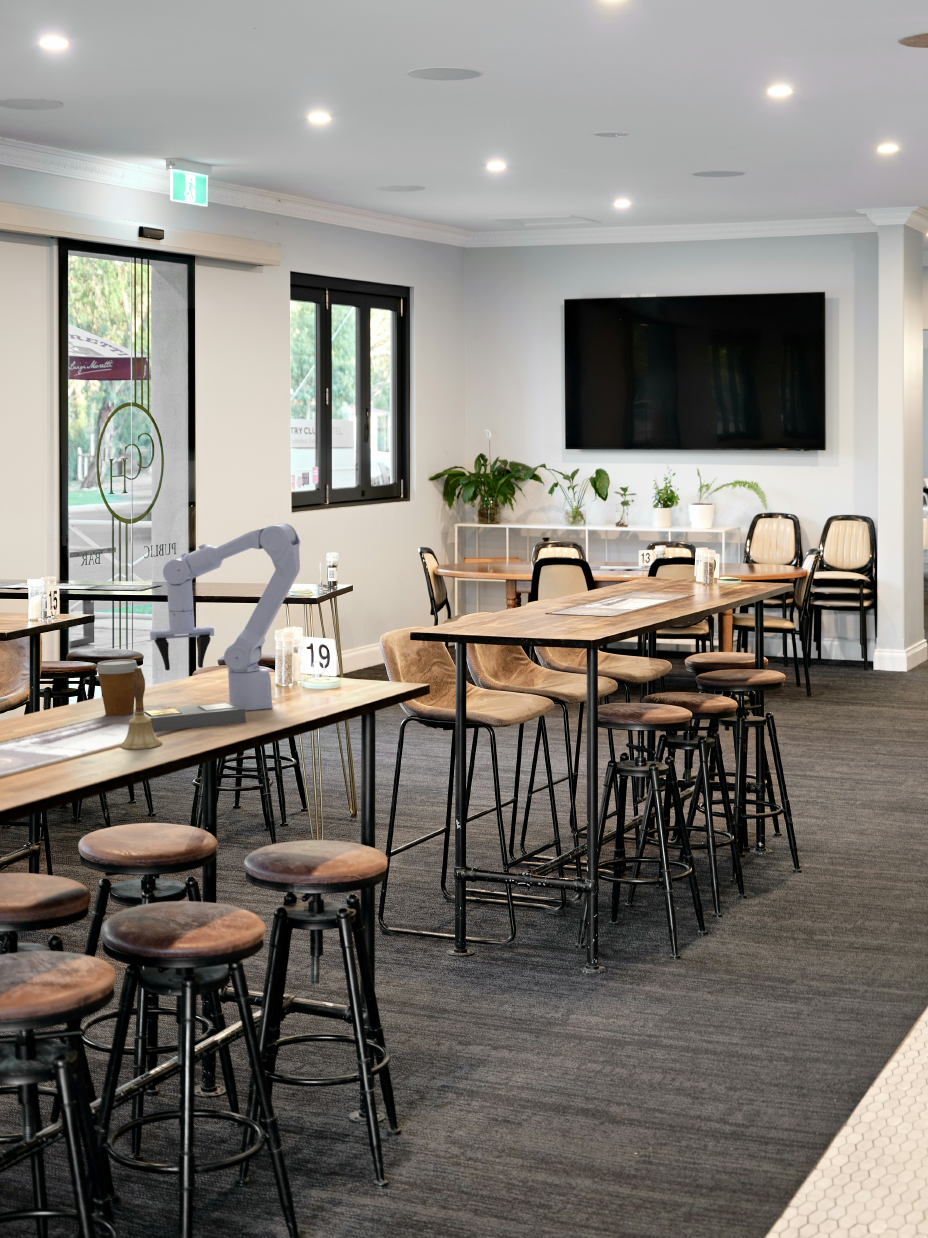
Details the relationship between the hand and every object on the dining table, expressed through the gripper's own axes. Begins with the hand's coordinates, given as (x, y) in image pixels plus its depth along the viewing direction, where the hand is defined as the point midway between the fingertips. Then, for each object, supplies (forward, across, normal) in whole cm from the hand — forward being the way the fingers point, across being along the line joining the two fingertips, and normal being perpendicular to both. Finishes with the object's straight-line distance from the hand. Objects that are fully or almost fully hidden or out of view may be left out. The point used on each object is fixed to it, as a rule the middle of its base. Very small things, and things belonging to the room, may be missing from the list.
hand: (184, 668), depth 342 cm
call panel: (+9, -3, -20) cm, 22 cm away
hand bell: (+10, -16, -40) cm, 44 cm away
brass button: (+9, -9, -21) cm, 24 cm away
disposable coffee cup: (+10, -15, +1) cm, 18 cm away
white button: (+9, +3, -20) cm, 22 cm away
